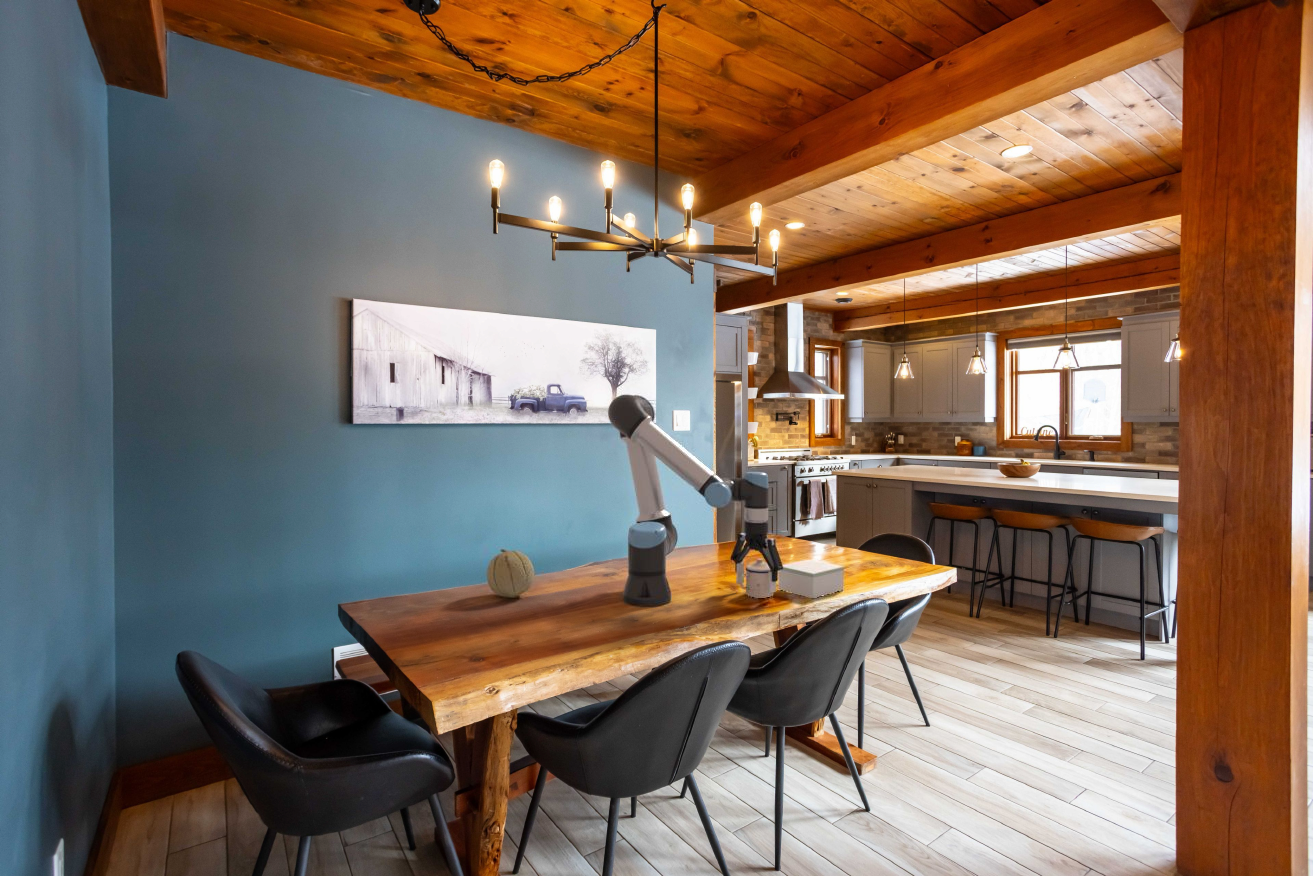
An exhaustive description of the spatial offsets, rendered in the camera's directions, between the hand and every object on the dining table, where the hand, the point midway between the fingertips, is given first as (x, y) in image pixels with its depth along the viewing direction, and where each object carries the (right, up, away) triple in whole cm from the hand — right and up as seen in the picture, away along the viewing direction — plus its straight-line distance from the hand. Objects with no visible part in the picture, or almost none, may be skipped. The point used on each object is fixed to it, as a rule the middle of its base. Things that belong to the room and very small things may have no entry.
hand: (755, 587), depth 211 cm
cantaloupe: (-78, -3, -2) cm, 78 cm away
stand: (+19, -2, +7) cm, 20 cm away
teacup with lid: (0, -3, 0) cm, 3 cm away
